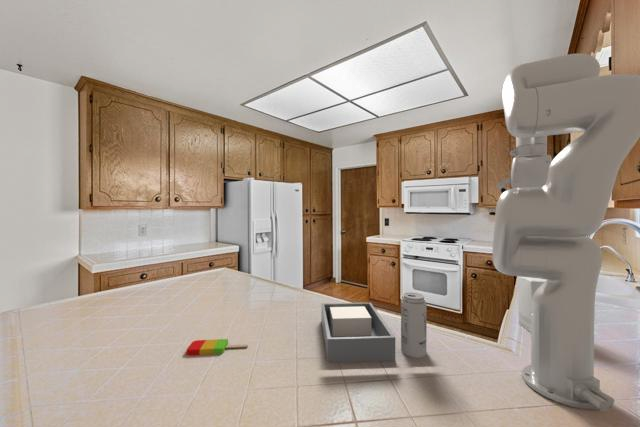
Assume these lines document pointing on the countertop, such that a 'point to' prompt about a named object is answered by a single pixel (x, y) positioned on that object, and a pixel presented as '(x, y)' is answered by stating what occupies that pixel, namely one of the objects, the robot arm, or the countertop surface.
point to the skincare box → (527, 299)
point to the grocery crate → (358, 339)
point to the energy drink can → (413, 325)
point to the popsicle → (210, 347)
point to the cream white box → (350, 321)
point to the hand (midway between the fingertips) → (530, 209)
